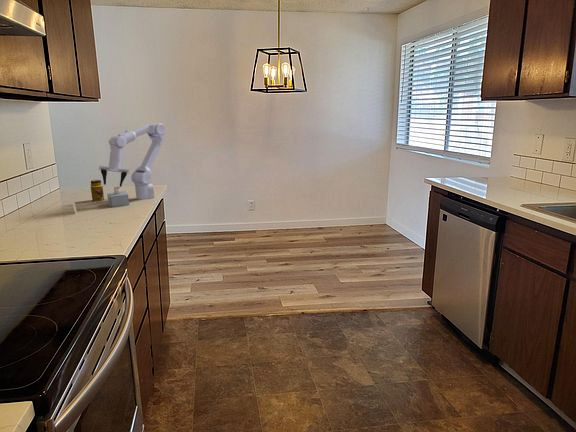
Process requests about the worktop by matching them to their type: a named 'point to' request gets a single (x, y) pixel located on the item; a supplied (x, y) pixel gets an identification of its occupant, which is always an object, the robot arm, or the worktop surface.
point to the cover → (118, 198)
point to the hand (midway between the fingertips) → (112, 185)
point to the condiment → (97, 190)
